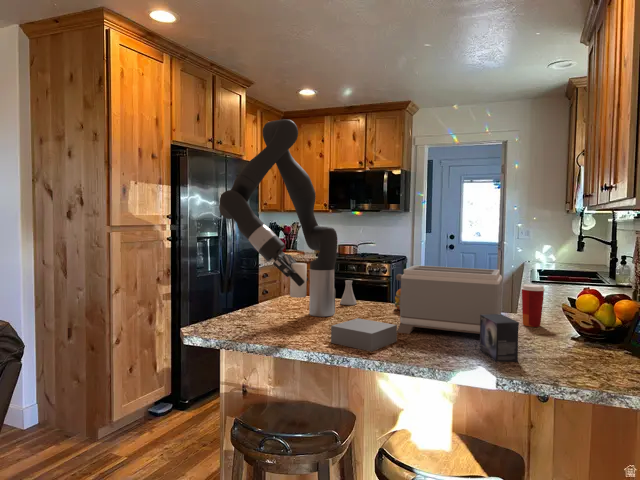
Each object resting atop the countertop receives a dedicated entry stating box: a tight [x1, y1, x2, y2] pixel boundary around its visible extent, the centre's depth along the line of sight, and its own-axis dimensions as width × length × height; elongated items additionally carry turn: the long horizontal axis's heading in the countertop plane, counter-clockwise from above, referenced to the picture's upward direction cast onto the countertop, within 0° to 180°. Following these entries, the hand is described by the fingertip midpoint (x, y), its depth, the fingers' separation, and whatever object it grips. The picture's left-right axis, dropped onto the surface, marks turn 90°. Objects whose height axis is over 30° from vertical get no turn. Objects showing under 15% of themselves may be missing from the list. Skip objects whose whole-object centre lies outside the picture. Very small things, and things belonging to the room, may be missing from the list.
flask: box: [339, 279, 358, 306], centre depth 202 cm, size 7×7×10 cm
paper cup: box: [520, 283, 546, 328], centre depth 165 cm, size 8×8×14 cm
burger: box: [394, 288, 401, 311], centre depth 189 cm, size 14×14×10 cm
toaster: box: [395, 264, 503, 335], centre depth 156 cm, size 19×34×20 cm, turn 66°
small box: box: [479, 313, 520, 363], centre depth 128 cm, size 11×6×10 cm, turn 5°
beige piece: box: [289, 262, 308, 299], centre depth 145 cm, size 5×5×10 cm
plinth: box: [330, 317, 398, 353], centre depth 140 cm, size 14×14×5 cm
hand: (304, 282), depth 144 cm, fingers closed on beige piece, 5 cm apart
